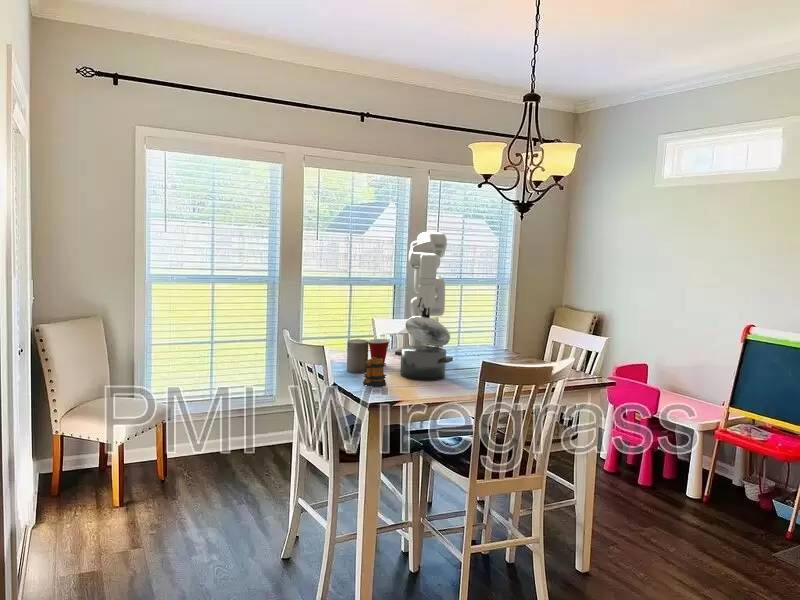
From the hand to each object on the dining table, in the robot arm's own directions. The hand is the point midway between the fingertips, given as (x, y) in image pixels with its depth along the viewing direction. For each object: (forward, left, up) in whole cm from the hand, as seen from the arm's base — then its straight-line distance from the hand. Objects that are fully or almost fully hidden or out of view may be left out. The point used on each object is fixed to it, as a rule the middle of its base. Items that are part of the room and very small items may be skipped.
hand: (425, 323), depth 279 cm
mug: (-8, -29, -24) cm, 39 cm away
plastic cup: (-28, +7, -24) cm, 38 cm away
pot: (0, 0, -24) cm, 24 cm away
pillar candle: (-28, -11, -24) cm, 39 cm away
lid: (0, +3, -5) cm, 5 cm away
